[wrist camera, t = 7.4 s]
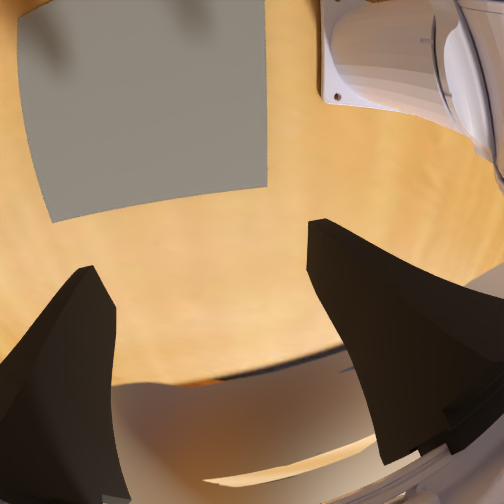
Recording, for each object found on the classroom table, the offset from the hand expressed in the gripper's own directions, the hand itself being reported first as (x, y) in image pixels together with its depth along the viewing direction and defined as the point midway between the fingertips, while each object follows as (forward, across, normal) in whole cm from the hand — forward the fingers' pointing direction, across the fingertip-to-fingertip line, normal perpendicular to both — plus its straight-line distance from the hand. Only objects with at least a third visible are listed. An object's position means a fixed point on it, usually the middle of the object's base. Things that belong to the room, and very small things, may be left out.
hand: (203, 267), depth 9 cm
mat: (+9, +3, -6) cm, 12 cm away
